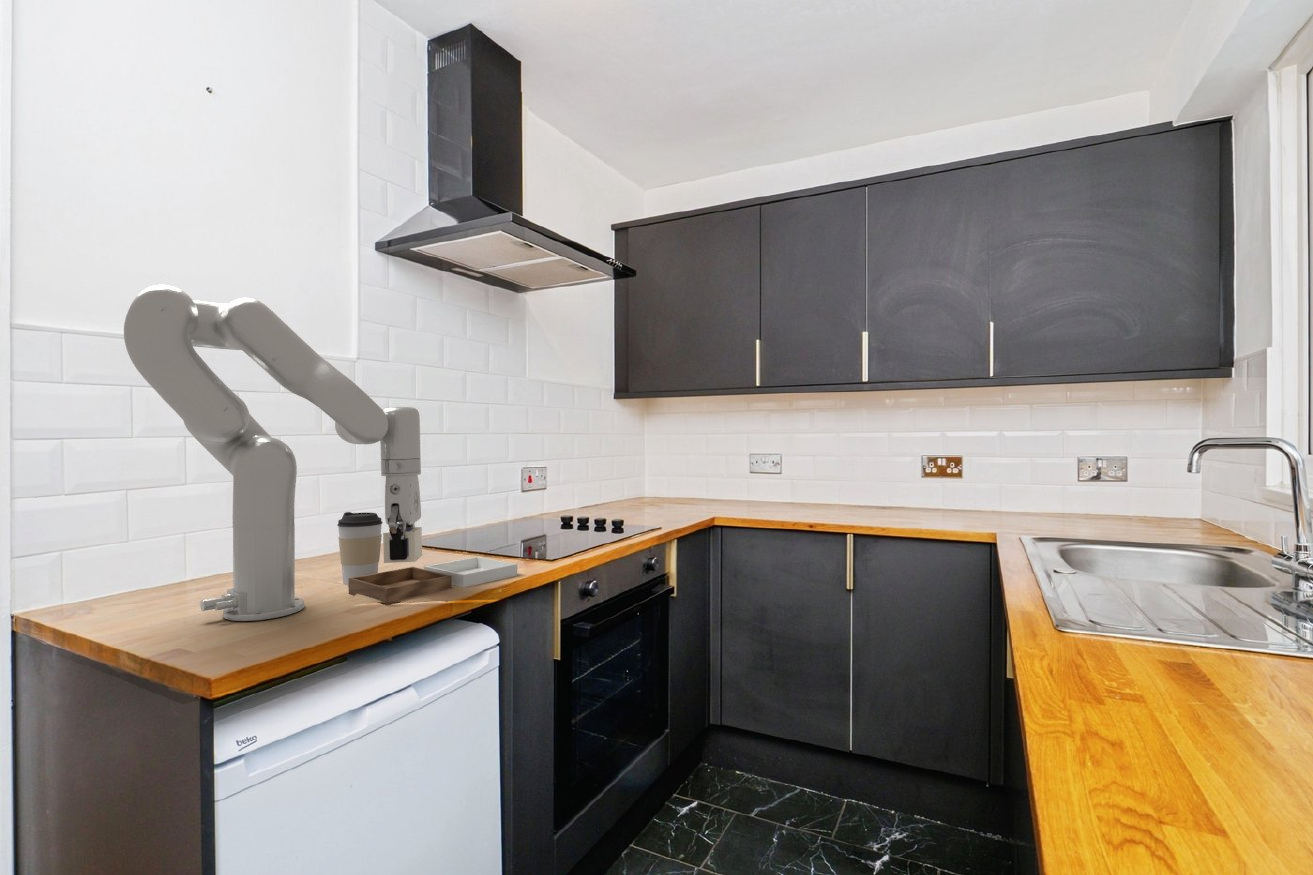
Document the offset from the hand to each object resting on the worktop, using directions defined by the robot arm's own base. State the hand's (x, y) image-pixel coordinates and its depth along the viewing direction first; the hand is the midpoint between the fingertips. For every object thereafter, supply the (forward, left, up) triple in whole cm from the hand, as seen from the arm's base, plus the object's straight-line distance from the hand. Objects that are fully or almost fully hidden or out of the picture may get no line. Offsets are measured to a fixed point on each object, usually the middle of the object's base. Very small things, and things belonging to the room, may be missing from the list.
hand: (403, 555), depth 131 cm
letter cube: (0, 0, -1) cm, 1 cm away
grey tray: (+16, -1, -7) cm, 17 cm away
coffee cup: (0, +16, -8) cm, 18 cm away
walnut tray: (0, 0, -7) cm, 8 cm away
